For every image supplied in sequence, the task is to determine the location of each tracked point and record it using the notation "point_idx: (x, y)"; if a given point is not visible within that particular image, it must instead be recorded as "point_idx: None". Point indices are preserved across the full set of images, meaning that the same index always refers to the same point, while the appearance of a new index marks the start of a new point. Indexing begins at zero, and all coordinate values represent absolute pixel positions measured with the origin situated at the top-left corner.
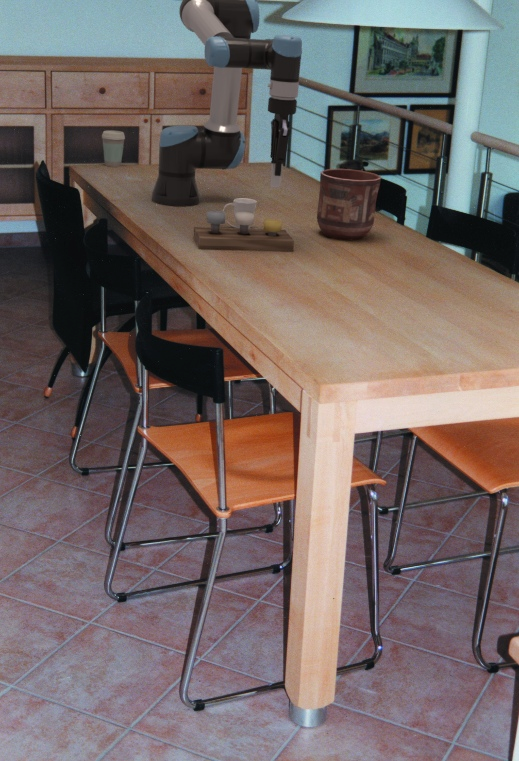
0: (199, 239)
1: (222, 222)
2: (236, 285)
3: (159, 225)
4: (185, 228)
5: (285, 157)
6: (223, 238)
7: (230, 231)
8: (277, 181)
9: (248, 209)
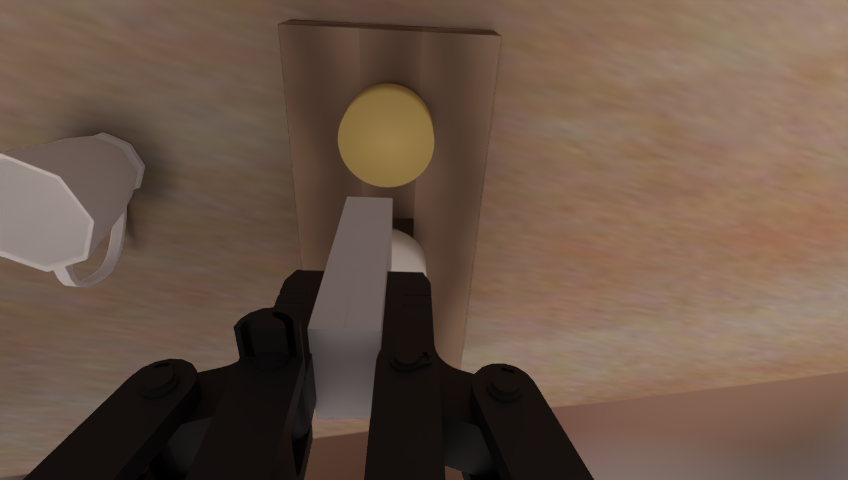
0: None
1: None
2: (829, 320)
3: None
4: (203, 355)
5: (564, 434)
6: (463, 317)
7: None
8: (390, 252)
9: (100, 195)
